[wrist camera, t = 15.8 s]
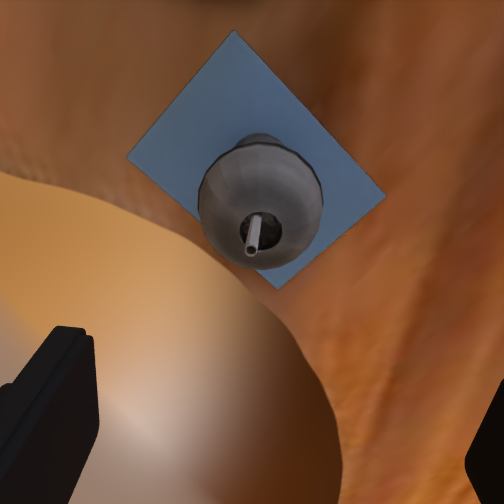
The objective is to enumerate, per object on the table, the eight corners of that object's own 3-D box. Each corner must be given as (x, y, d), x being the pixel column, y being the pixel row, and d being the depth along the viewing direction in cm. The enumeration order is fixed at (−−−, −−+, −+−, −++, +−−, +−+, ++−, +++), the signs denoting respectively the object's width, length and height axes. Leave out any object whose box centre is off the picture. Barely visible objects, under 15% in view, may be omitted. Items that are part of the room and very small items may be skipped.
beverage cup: (234, 214, 36) (213, 371, 18) (200, 134, 33) (135, 226, 15) (314, 185, 35) (376, 322, 17) (286, 99, 32) (324, 156, 14)
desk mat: (385, 194, 36) (387, 196, 36) (277, 287, 40) (277, 290, 40) (234, 29, 31) (233, 29, 30) (127, 155, 35) (125, 157, 34)
